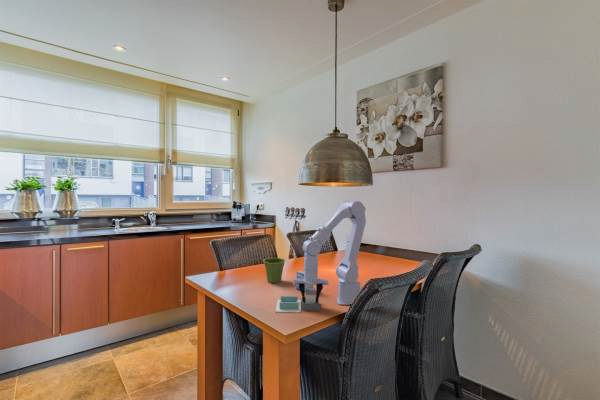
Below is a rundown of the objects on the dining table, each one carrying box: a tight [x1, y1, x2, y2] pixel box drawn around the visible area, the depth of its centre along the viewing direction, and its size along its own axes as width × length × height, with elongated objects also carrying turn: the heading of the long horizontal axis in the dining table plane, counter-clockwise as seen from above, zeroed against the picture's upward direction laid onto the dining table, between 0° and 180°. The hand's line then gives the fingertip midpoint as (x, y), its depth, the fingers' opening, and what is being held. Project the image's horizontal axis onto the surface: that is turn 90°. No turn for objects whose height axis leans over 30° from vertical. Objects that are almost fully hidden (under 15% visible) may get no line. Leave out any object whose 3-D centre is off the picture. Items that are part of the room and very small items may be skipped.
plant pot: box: [262, 257, 286, 284], centre depth 160 cm, size 12×12×11 cm
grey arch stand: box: [301, 296, 321, 311], centre depth 125 cm, size 7×8×2 cm
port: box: [275, 295, 302, 314], centre depth 125 cm, size 10×13×3 cm
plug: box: [305, 287, 316, 304], centre depth 125 cm, size 4×4×7 cm
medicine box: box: [295, 270, 315, 293], centre depth 146 cm, size 8×4×9 cm, turn 45°
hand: (310, 301), depth 125 cm, fingers open, 5 cm apart
